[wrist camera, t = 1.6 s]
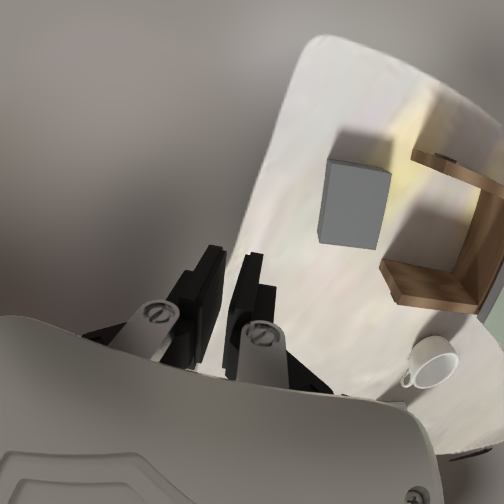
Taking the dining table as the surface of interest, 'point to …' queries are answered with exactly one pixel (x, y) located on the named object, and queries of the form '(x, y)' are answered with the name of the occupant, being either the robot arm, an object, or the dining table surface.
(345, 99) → the dining table surface
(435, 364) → the teacup
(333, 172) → the slate cuboid
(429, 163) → the wooden u-shaped stand
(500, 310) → the cover
